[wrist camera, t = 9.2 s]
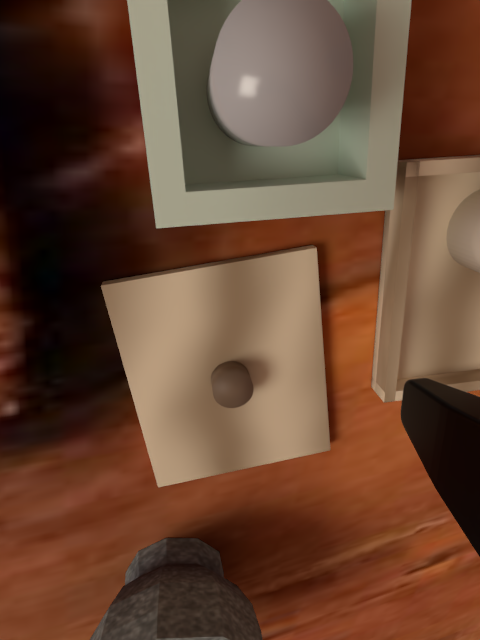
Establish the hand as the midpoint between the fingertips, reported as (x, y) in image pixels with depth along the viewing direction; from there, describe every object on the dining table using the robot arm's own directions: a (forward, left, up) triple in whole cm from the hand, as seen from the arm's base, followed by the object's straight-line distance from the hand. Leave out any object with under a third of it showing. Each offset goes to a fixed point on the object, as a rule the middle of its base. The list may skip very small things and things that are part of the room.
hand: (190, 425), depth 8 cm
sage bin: (-4, -7, -12) cm, 15 cm away
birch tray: (-15, +2, -12) cm, 20 cm away
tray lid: (-2, +6, -12) cm, 14 cm away
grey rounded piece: (-4, -7, -12) cm, 14 cm away
